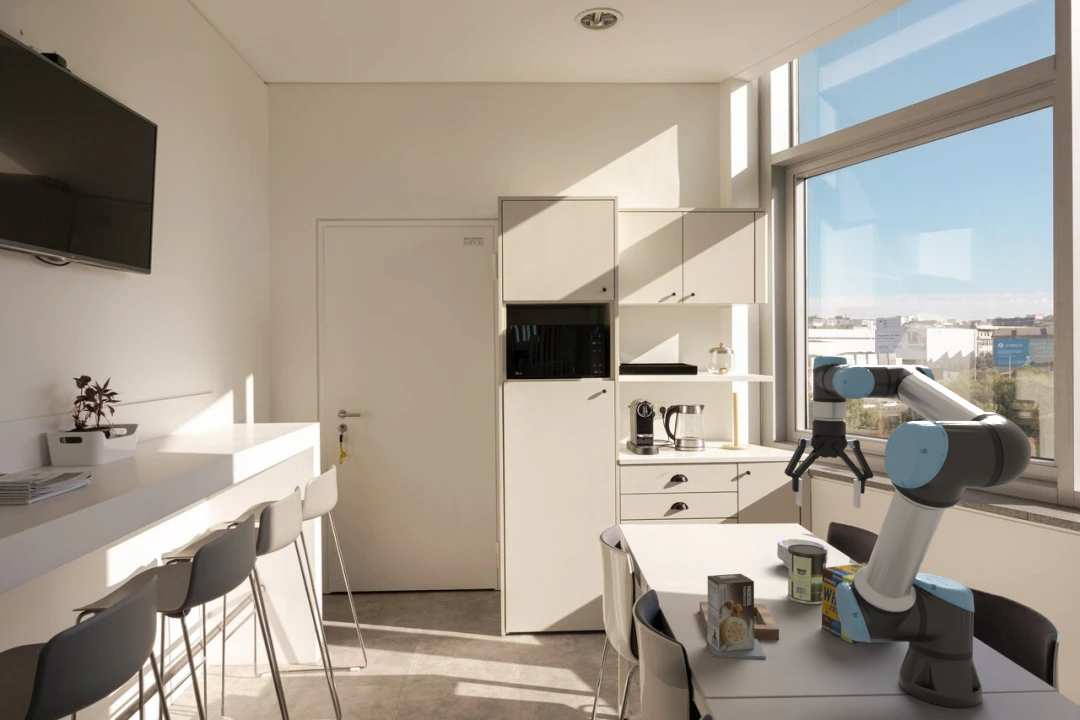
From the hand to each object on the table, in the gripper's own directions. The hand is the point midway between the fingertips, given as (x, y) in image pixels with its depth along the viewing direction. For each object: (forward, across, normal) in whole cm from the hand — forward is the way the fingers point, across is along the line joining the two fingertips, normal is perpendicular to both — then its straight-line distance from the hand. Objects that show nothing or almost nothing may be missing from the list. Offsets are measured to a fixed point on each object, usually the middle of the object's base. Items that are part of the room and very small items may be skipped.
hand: (827, 506), depth 174 cm
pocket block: (+33, +20, -7) cm, 39 cm away
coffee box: (+32, +24, +8) cm, 41 cm away
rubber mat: (+33, +23, +8) cm, 41 cm away
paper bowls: (+33, -9, -57) cm, 66 cm away
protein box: (+33, -10, -6) cm, 35 cm away
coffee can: (+33, -3, -29) cm, 44 cm away
